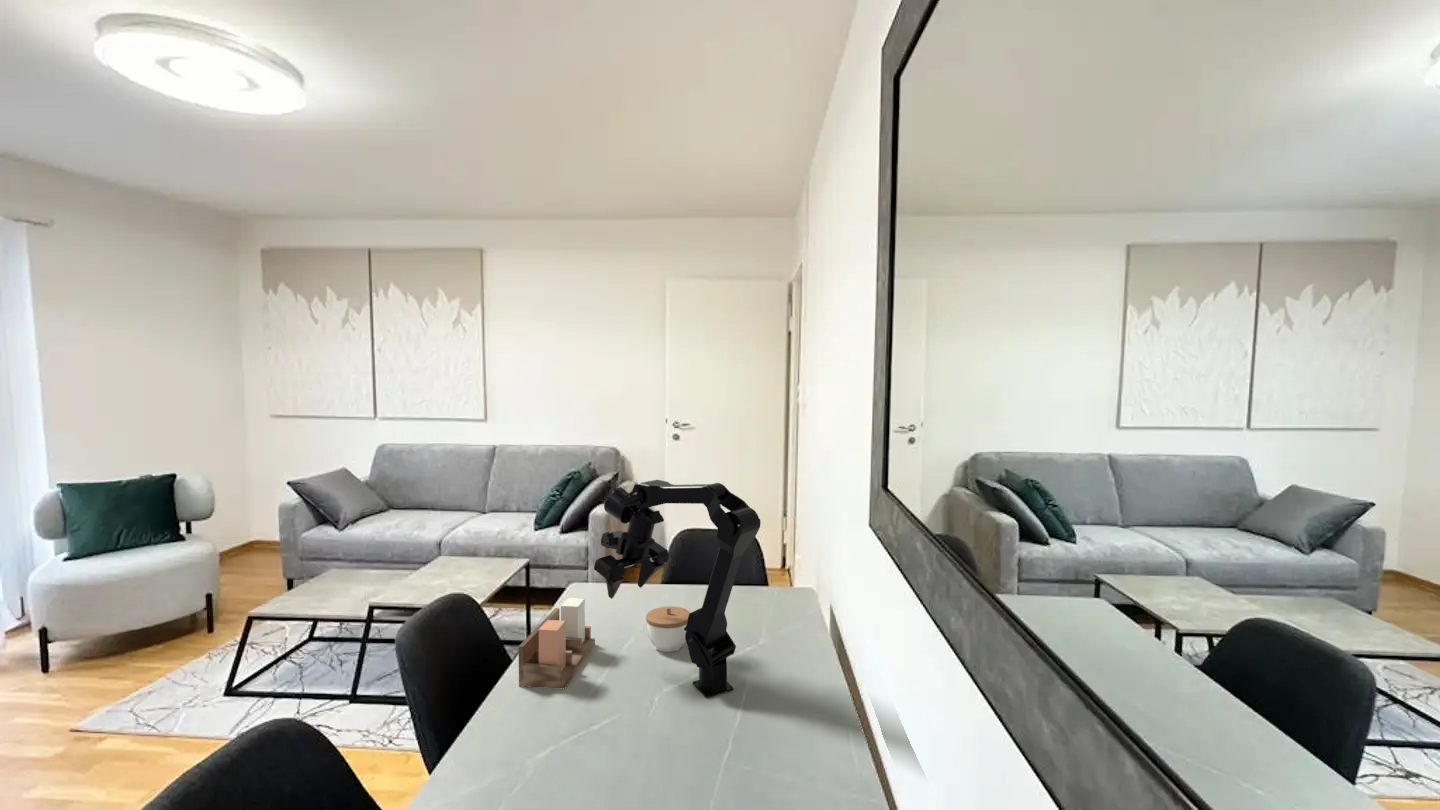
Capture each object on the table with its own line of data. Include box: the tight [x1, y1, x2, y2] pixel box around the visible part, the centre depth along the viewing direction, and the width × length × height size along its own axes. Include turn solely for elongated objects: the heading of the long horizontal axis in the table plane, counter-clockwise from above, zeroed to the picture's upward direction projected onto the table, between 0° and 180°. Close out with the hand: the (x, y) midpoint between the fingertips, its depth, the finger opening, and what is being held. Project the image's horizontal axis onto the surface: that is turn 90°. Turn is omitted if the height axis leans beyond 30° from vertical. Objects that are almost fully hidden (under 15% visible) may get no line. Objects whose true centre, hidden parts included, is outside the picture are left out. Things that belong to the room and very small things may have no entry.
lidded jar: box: [645, 605, 691, 653], centre depth 144 cm, size 11×11×9 cm
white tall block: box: [560, 597, 586, 643], centre depth 141 cm, size 4×5×10 cm
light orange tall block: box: [539, 619, 566, 670], centre depth 128 cm, size 4×5×10 cm
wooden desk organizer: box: [518, 607, 596, 690], centre depth 135 cm, size 10×21×8 cm, turn 174°
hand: (625, 591), depth 141 cm, fingers open, 9 cm apart
